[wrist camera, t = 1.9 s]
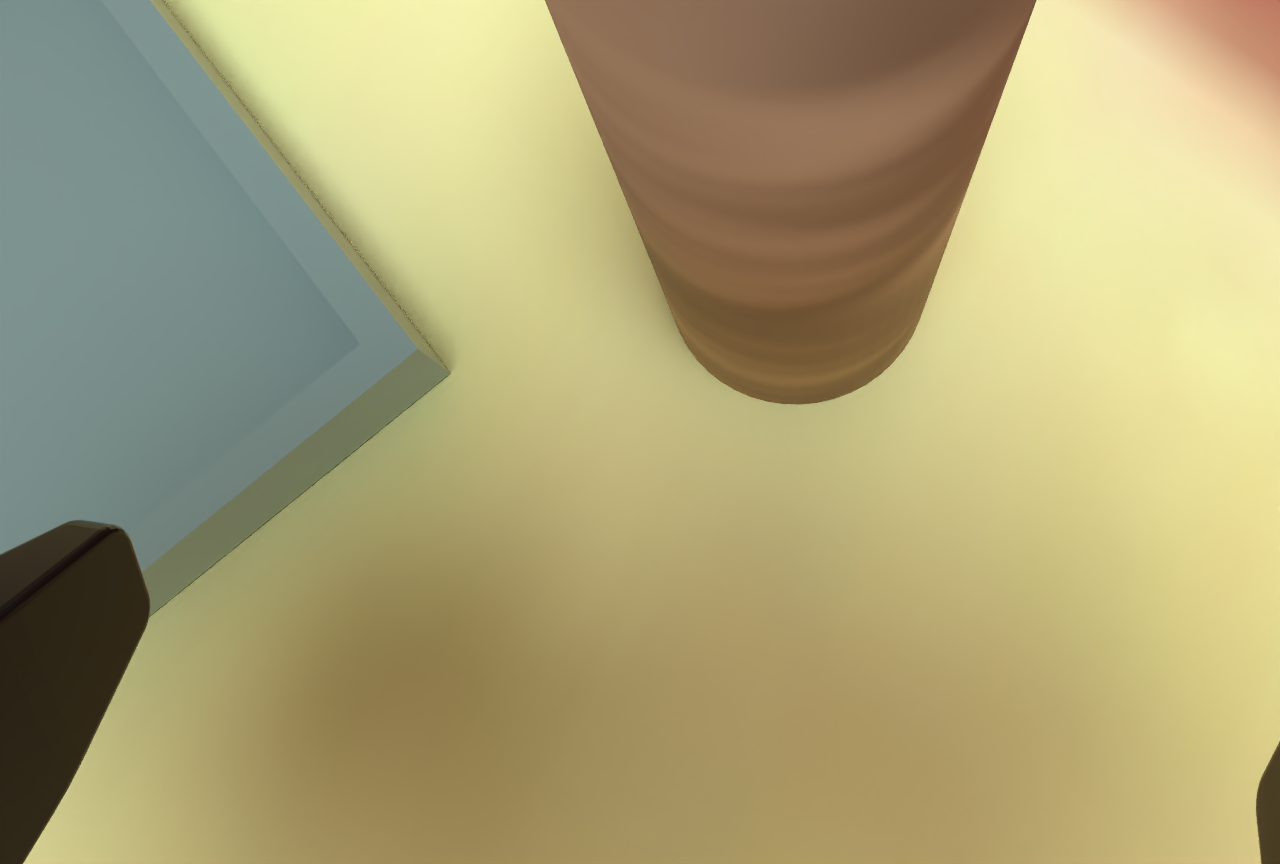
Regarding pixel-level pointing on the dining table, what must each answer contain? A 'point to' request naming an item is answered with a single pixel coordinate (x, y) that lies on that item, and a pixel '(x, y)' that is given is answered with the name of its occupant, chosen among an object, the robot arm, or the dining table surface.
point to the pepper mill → (793, 166)
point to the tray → (169, 298)
